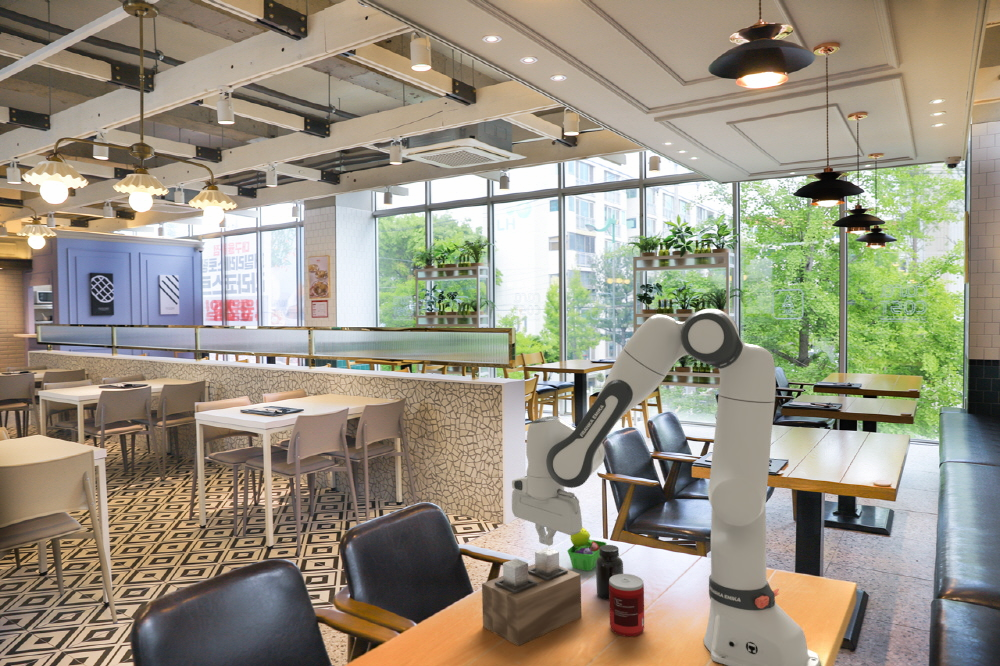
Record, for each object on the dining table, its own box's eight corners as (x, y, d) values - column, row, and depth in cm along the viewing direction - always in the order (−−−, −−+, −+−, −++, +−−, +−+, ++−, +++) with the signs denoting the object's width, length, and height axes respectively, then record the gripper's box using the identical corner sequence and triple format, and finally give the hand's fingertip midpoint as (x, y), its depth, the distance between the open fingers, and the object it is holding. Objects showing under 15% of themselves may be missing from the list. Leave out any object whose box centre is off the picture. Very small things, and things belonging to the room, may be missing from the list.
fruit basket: (592, 574, 180) (591, 532, 180) (562, 568, 185) (561, 528, 184) (608, 560, 190) (607, 521, 189) (579, 554, 194) (579, 516, 194)
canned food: (631, 618, 154) (631, 571, 153) (651, 633, 146) (651, 584, 146) (603, 624, 151) (602, 576, 151) (621, 640, 143) (620, 590, 143)
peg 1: (528, 602, 149) (527, 563, 149) (515, 608, 147) (514, 568, 146) (516, 597, 152) (516, 558, 152) (503, 602, 150) (502, 563, 149)
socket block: (581, 616, 155) (580, 571, 155) (518, 646, 142) (517, 597, 142) (545, 600, 164) (544, 558, 164) (482, 626, 151) (481, 580, 151)
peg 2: (559, 589, 156) (558, 552, 156) (547, 594, 153) (546, 556, 153) (547, 584, 159) (546, 547, 159) (535, 589, 156) (534, 551, 156)
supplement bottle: (622, 589, 169) (621, 543, 169) (625, 601, 163) (624, 553, 162) (595, 589, 170) (594, 542, 170) (596, 600, 163) (596, 552, 163)
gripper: (587, 491, 149) (588, 552, 150) (526, 475, 165) (526, 530, 165) (568, 497, 145) (569, 559, 146) (507, 479, 161) (507, 536, 161)
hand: (546, 543), depth 156 cm, fingers closed
